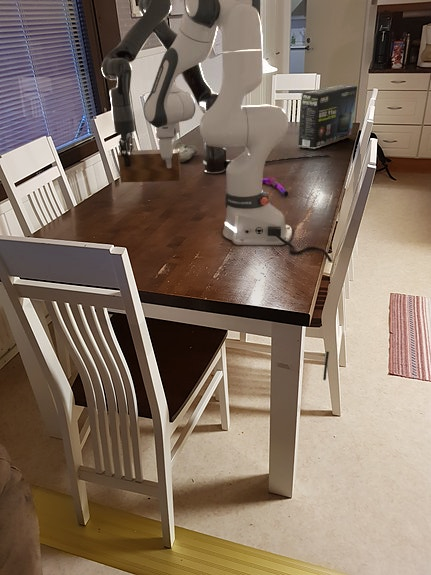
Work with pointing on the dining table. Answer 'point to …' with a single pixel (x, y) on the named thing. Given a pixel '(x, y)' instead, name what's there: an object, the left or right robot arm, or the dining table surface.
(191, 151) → the fossil
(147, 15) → the left robot arm
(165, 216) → the dining table surface
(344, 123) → the router box
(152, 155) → the box
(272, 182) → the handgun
